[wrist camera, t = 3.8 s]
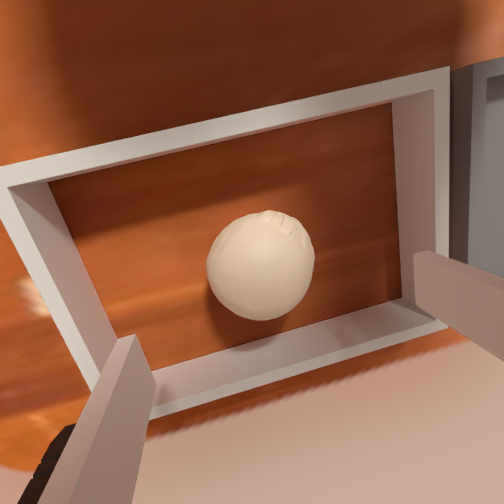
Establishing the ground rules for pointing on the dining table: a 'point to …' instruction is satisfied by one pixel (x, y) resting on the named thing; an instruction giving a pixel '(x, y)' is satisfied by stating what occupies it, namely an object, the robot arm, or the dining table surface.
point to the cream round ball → (261, 265)
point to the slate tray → (477, 166)
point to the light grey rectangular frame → (280, 345)
